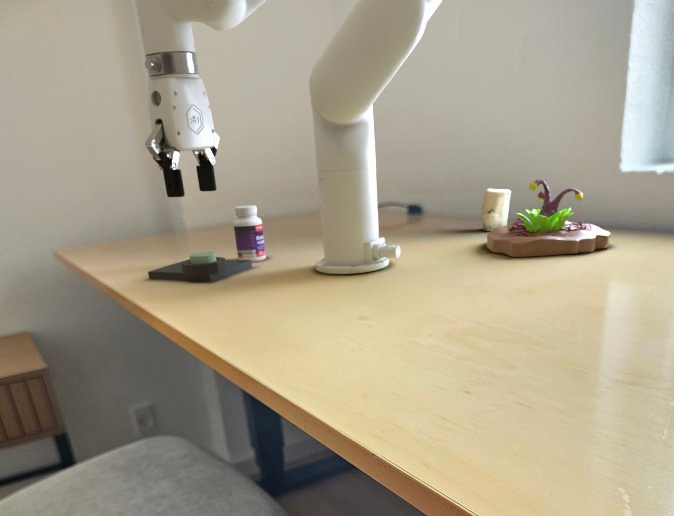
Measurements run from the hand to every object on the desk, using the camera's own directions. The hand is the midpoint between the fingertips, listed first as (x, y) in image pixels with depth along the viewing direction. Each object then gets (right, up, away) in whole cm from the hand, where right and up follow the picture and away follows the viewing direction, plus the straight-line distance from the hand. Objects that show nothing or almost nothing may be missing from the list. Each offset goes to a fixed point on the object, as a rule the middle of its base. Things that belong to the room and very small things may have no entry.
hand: (192, 193), depth 107 cm
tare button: (+1, -10, +5) cm, 11 cm away
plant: (+60, -6, +10) cm, 62 cm away
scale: (-1, -10, +11) cm, 15 cm away
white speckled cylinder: (+57, +4, +30) cm, 65 cm away
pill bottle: (+7, -5, +20) cm, 22 cm away
